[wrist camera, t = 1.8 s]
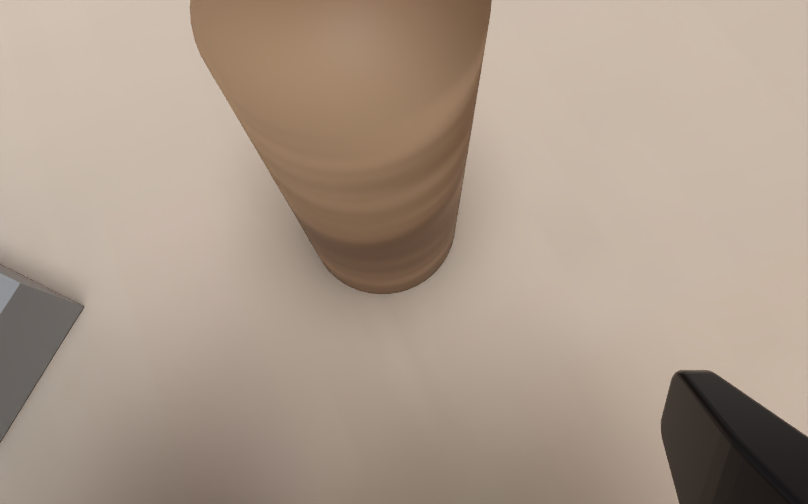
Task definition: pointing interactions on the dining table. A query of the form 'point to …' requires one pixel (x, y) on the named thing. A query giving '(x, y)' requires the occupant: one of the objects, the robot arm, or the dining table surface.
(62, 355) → the dining table surface
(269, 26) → the walnut peg
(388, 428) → the dining table surface
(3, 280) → the socket block
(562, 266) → the dining table surface
